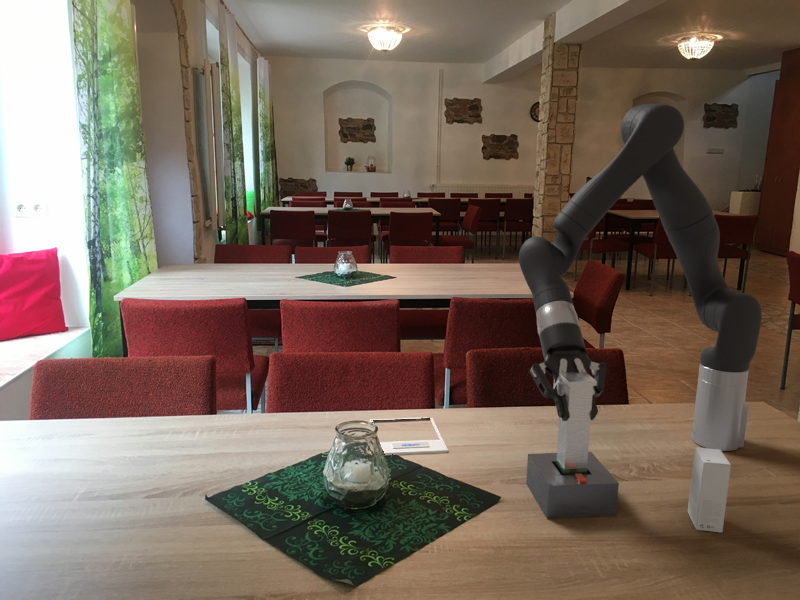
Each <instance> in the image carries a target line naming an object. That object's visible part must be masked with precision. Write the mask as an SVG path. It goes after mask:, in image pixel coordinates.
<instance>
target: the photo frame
mask: <svg viewBox="0 0 800 600" xmlns="http://www.w3.org/2000/svg"><path fill="white" fill-rule="evenodd" d="M421 417H423V418H427V417H428V416H426V417H425V416H420V417H399V418H398V417H395V418H374V419H373V418H370V419H369V423H370V422H373V423H374V421H373V420H392V421H396V420H395V419H416V420H422V419H421ZM371 420H372V421H371ZM429 420H430V423H431V422H432V424H431V425H433V426H432V428H433V427H434V428H433V430H434V429H435V430H434V432H435V434H437V435H436V437H437V436H438V437H437V438H438V439H422V440H421V439H420V440H419V439H418V440H400V441H399V440H398V441H397V440H396V441H379V442H380V444H381V447H382V449H383V451H384V454H385V455H384V456H402V455H420V454H421V455H422V454H423V455H424V454H440V453H441V454H442V453H448V452H449V449H448V447H447V445H446V443H445V441H444V439H443V437H442V434H441V433H440V431H439V429H438V426H437V425H436V422H435V420H434V418H433V417H432V418H430V419H429ZM392 454H393V455H392Z"/></svg>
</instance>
